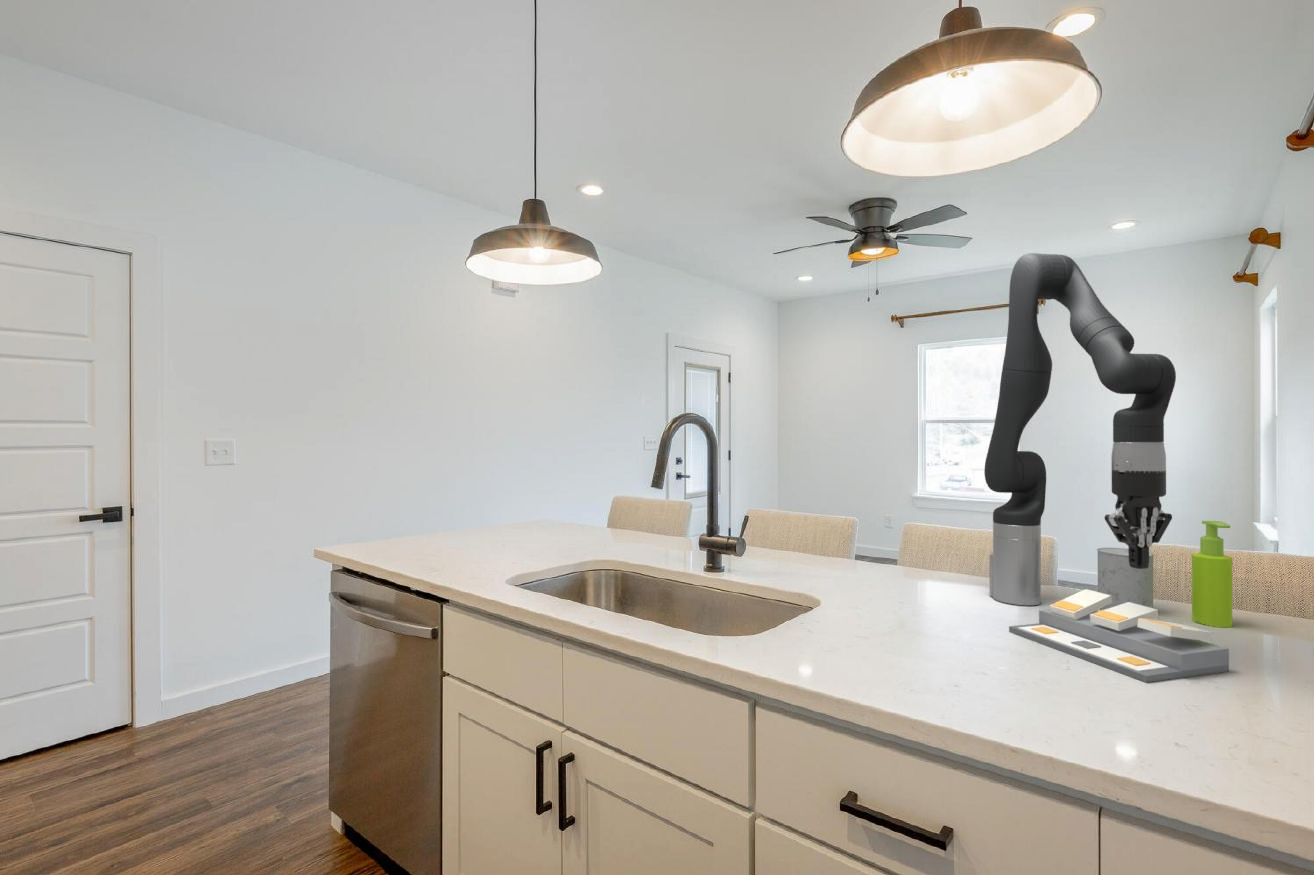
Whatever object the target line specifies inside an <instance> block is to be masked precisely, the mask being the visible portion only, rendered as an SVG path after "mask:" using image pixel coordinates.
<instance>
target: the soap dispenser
mask: <svg viewBox="0 0 1314 875" xmlns="http://www.w3.org/2000/svg"><path fill="white" fill-rule="evenodd" d="M1201 524H1203V525H1205V535H1203V536H1200V539H1199V540H1200V543H1199V545H1200V546H1199V548H1200V552H1197V553H1196V552H1195V553H1192V554H1191V621H1192V620H1193V621H1192V622H1195V623H1196V622H1199V623H1201V624H1200V625H1203V624H1205V625H1204V626H1208V625H1209V627H1214V626H1215V628H1232V627H1233V557H1231V556H1228V555H1224V538H1221V537H1220V536H1218V534H1219V533H1218V530H1219V529H1220V528H1222V529H1230V528H1231V525H1230V524H1228V523H1226V522H1223V521H1220V520H1217V521H1216V520H1201ZM1218 528H1219V529H1218ZM1199 623H1198V624H1199Z"/></svg>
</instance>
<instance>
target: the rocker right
mask: <svg viewBox="0 0 1314 875" xmlns="http://www.w3.org/2000/svg"><path fill="white" fill-rule="evenodd" d="M1137 627H1139V628H1143V629H1146V630H1150V631H1153V632H1157V633H1160V634H1163V635H1167V636H1171V637H1179V638H1187V639H1195V640H1200V641H1204V642H1213V634H1214V632H1211V631H1207V630H1204V629H1200V628H1197V627H1193V626H1189V625H1185V624H1182V623H1177V622H1170V621H1169V622H1168V621H1164V620H1163V621H1161V620H1156V619H1146V618H1142V619H1140V618H1138V625H1137Z"/></svg>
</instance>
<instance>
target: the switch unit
mask: <svg viewBox="0 0 1314 875" xmlns="http://www.w3.org/2000/svg"><path fill="white" fill-rule="evenodd" d="M1096 612H1099V611H1098V610H1096V611H1094V612H1092V613H1090V614H1093V613H1096ZM1090 614H1088V615H1086V616H1083V617H1081V618H1079V619H1077V620H1073V619H1070V618H1067V617H1064V616H1061V615H1057V614H1054V613H1051V610H1050V608H1049V609H1048V608H1047V609H1040V610H1038V623H1030V624H1029V623H1028V624H1020V625H1010V626H1008V632H1009V633H1012V634H1015V635H1017V636H1020V637H1023V638H1025V639H1027V640H1029V641H1030V640H1031V641H1032V642H1036V643H1038V644H1041V645H1044V646H1047V647H1049V648H1052V649H1055V650H1057V651H1059V652H1063V653H1065V654H1068V655H1070V656H1074V657H1077V658H1079V659H1082V660H1084V661H1087V662H1090V663H1091V664H1095V665H1098V666H1101V667H1103V668H1106V669H1108V670H1111V671H1113V672H1117V673H1119V674H1122V675H1125V676H1127V677H1130V678H1133V679H1135V680H1138V681H1141V682H1143V683H1153V682H1159V681H1168V679H1169V680H1175V679H1181V678H1182V679H1183V678H1188V677H1196V676H1203V675H1210V674H1217V673H1225V672H1229V671H1230V649H1229V648H1228V647H1225V646H1222V645H1218V644H1214V643H1210V642H1208V641H1204V640H1195V639H1187V638H1179V637H1171V636H1167V635H1163V634H1160V633H1157V632H1153V631H1150V630H1146V629H1143V628H1139V627H1137V625H1135V626H1132V627H1129V628H1126V629H1123V630H1120V631H1118V630H1114V629H1111V628H1108V627H1104V626H1101V625H1098V624H1095V623H1091V620H1090Z"/></svg>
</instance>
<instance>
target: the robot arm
mask: <svg viewBox="0 0 1314 875" xmlns="http://www.w3.org/2000/svg"><path fill="white" fill-rule="evenodd" d="M1008 295H1009V296H1008V323H1007V331H1006V332H1007V334H1006V335H1007V336H1006V345H1005V350H1004V351H1005V352H1004V357H1003V364H1002V367H1001V376H1000V383H999V395H998V400H997V401H998V402H997V406H996V407H997V408H996V414H995V418H994V426H993V429H992V433H991V437H990V441H989V446H988V450H987V454H986V457H985V462H984V472H983V473H984V480H985V483H986V485H987V487H988V488H989V489H990V490H991V491H993V492H994V493H1000V494H1002V493H1005V494H1006V493H1008V494H1009V493H1011V495H1010V498H1009V500H1008V501H1007V502H1006V503H1004V504H1002V505H1001V506H999V507H997V508H994V510H993V511H992V553H991V554H989V597H992V598H993V599H994V600H996V601H998V602H1001V603H1005V604H1010V605H1017V606H1018V605H1019V606H1036V605H1037V606H1038V605H1040V604H1041V602H1042V601H1041V600H1042V596H1041V595H1042V593H1041V592H1042V589H1041V588H1042V537H1041V536H1042V534H1041V532H1042V526H1041V524H1042V516H1043V515H1044V511H1045V508H1046V507H1045V506H1046V492H1047V491H1046V489H1047V469H1046V464H1045V461H1044V460H1043V458H1042V457H1041V455H1039V453H1037V452H1034V451H1028V450H1019V445H1020V441H1021V437H1022V435H1023V432H1024V431H1025V430H1024V429H1025V428H1026V426H1027V425H1028V423H1029V422H1030V421H1031V419H1032V418H1033V417H1034V415H1035V414H1036V413H1037V412H1038V410H1039V409H1040V408H1041V406H1042V405H1043V404H1044V402H1045V400H1046V398H1047V397H1048V395H1049V391H1050V384H1051V378H1052V372H1053V360H1052V356H1051V354H1050V350H1049V349H1048V348H1049V347H1048V346H1047V344H1046V342H1045V340H1044V338H1043V336H1042V333H1041V330H1040V326H1039V324H1038V323H1039V322H1038V308H1039V307H1038V306H1039V300H1044V301H1045V300H1047V301H1049V300H1055V301H1056V302H1058V303H1060V304H1061V305H1062V306H1063V307H1065V308H1066V309H1067V311H1068V312H1069V328H1070V332H1071V335H1072V336H1073V338H1074V340H1075V341H1076V342H1077V343H1078V344H1079V346H1080V347H1081V348H1082V349H1083V350H1084V351H1085V352H1086V353H1087V355H1089V357H1090V358H1091V359H1092V360H1091V361H1092V364H1093V366H1094V368H1095V369H1094V370H1095V371H1096V374H1097V377H1098V379H1099V382H1101V384H1102V385H1103V387H1105V388H1106V389H1107V390H1109V391H1110V392H1112V393H1115V394H1119V395H1134V398H1133V402H1132V403H1131V406H1130V407H1127V408H1122V409H1119V410H1117V411H1115V413H1114V415H1113V419H1112V442H1113V443H1112V449H1111V456H1110V458H1111V459H1110V460H1111V461H1110V462H1111V493H1112V494H1113V495H1116V497H1117V499H1116V503H1115V505H1114V507H1115V510H1114V511H1113V513H1111V514H1105V515H1104V521H1105V522H1106V525H1107V526H1108V527H1109V528H1110V531H1111V532H1112V533H1113V535H1114V537H1115V538H1116V539H1117V541H1118V542H1119V543H1123V544H1125V545H1126V546H1128V549H1129V565H1130V567H1132V568H1137V569H1146V568H1148V564H1149V552H1150V548H1151V547H1152V545H1153V544H1155V543H1156V544H1157V543H1159V542H1160V541H1161V539H1162V537H1163V535H1164V533H1165V532H1166V530H1167V528H1168V527H1169V525H1170V523H1171V521H1172V520H1173V515H1172V514H1171V513H1167V512H1166V513H1165V512H1164V511H1163V510H1162V503H1161V501H1160V498H1163V497H1165V496H1166V495H1167V454H1166V449H1165V448H1166V447H1165V440H1164V439H1165V437H1164V436H1165V435H1164V434H1165V430H1164V429H1165V421H1164V420H1165V416H1166V413H1167V411H1168V407H1169V405H1170V401H1171V398H1172V395H1173V392H1174V389H1175V386H1176V385H1175V384H1176V379H1177V372H1176V369H1175V366H1174V363H1173V362H1172V361H1171V360H1170V359H1169V357H1167V356H1166V355H1163V354H1160V353H1159V354H1158V353H1131V352H1132V351H1133V348H1134V347H1135V338H1134V337H1133V335H1132V334H1131V332H1130V331H1129V330H1128V329H1127V328H1126V327H1125V326H1124V325H1123V324H1122V323H1121V322H1120V321H1119V320H1118V319H1117V318H1116V317H1115V316H1114V315H1113V314H1112V313H1111V312H1110V311H1109V310H1108V309H1107V307H1106V306H1105V305H1104V304H1103V303H1102V302H1101V300H1100V298H1099V297H1098V296H1097V294H1096V292H1095V290H1094V289H1093V288H1092V285H1091V284H1090V283H1089V281H1088V279H1087V277H1086V276H1085V274H1084V273H1083V271H1082V269H1081V268H1080V266H1079V265H1078V264H1077V262H1075V261H1074V259H1073V258H1072V257H1069V256H1067V255H1064V254H1056V253H1053V254H1052V253H1034V252H1033V253H1032V252H1031V253H1025V254H1023V255H1021V256H1020V257H1019V258H1018V259H1017V260H1016V261H1015V264H1014V265H1013V268H1012V271H1011V276H1010V280H1009V294H1008Z"/></svg>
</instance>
